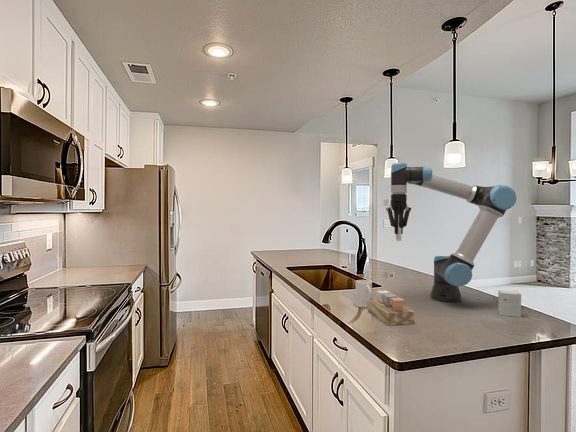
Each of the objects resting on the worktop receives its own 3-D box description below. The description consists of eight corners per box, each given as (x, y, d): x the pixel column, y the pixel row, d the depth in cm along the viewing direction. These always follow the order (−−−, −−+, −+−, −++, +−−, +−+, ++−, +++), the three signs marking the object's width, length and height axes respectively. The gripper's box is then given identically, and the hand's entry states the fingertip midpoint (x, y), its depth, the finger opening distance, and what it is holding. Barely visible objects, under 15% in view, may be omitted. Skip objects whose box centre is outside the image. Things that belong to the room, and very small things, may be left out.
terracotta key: (399, 313, 154) (399, 297, 154) (405, 316, 149) (405, 300, 149) (389, 313, 153) (389, 297, 153) (394, 317, 148) (394, 300, 148)
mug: (377, 308, 171) (377, 284, 170) (361, 309, 169) (361, 285, 169) (368, 302, 182) (368, 279, 182) (352, 303, 181) (352, 280, 180)
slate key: (392, 309, 160) (392, 293, 160) (397, 312, 156) (397, 296, 156) (382, 309, 160) (382, 294, 159) (387, 312, 155) (387, 296, 155)
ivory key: (386, 305, 167) (386, 290, 167) (390, 308, 162) (390, 292, 162) (376, 305, 166) (376, 290, 166) (381, 308, 161) (381, 293, 161)
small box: (517, 313, 162) (517, 291, 162) (521, 317, 157) (521, 293, 156) (497, 312, 165) (498, 289, 164) (500, 315, 159) (501, 292, 159)
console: (392, 310, 169) (392, 299, 168) (414, 323, 149) (414, 311, 149) (368, 311, 166) (368, 300, 166) (387, 325, 147) (387, 313, 147)
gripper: (406, 194, 182) (406, 239, 183) (383, 194, 180) (383, 240, 181) (414, 193, 175) (414, 240, 176) (390, 193, 173) (390, 241, 173)
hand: (398, 240), depth 178 cm, fingers closed
